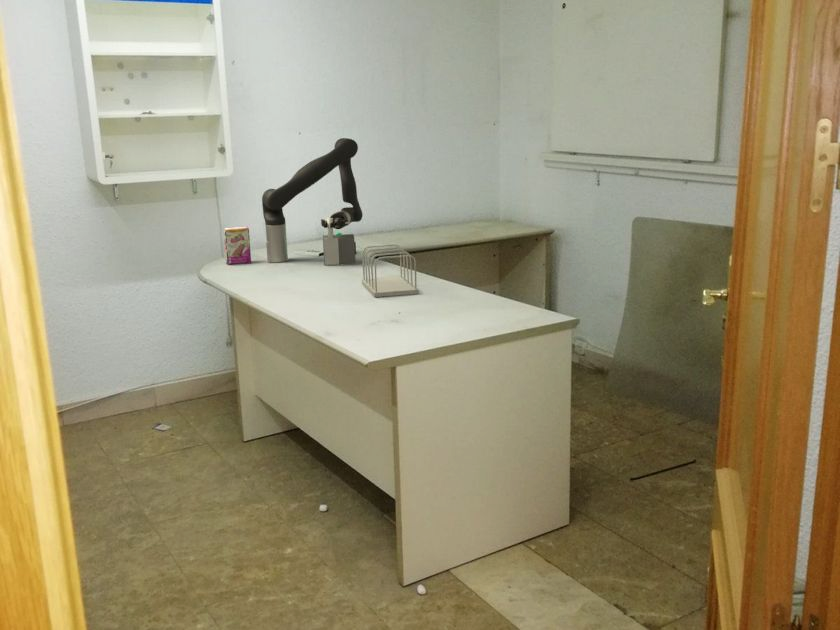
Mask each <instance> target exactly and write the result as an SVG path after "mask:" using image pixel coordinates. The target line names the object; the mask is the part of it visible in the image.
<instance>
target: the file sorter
mask: <svg viewBox="0 0 840 630" xmlns="http://www.w3.org/2000/svg"><path fill="white" fill-rule="evenodd" d="M369 248H371V249H369ZM373 248H374V249H373ZM366 249H368V250H367V251H365V250H366ZM368 253H369V254H368ZM373 254H374V255H373ZM371 255H373V256H372V257H371ZM370 257H371V258H370ZM376 257H378V258H376ZM374 258H376V259H375V261H374V269H373V260H374ZM394 258H395V259H397V258H399V263H400V264H399V265H400V267H399V268H400V272H399V273H400V277H384V278H383V277H382V278H377V262H378V261H379V260H381V259H394ZM405 258H406V259H405ZM402 259H403V260H402ZM412 259H413V261H414V283H413V266H412V264H413V263H412ZM402 261H403V263H402ZM405 261H406V263H405ZM402 264H403V265H402ZM409 266H410V267H409ZM402 268H403V269H402ZM409 268H410V273H409ZM370 270H371V271H370ZM362 275H363V279H361V284H362V286H364V288H365V289H366V290H367V291H368V292H369V293H370V294H371V295H372V296H373V297H374V298H380V297H383V296H384V297H391V296H406V295H407V296H408V295H409V294H410V295H418V294H420V291H419V289H418V286H417V261H416V258H415V257H414V255H411V254H410V253H409V252H408V251H406V250H405V249H403V248H402V247H400V245H398V244H383V245H382V244H381V245H380V244H379V245H367V246H365V247H364V248H363V250H362ZM409 275H410V277H409ZM406 277H407V278H406ZM384 297H383V298H384Z"/></svg>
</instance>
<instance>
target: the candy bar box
mask: <svg viewBox="0 0 840 630" xmlns="http://www.w3.org/2000/svg"><path fill="white" fill-rule="evenodd" d="M222 230H223V231H222V232H223V242H224V244H223V245H224V254H225V255H224V256H225V257H224V258H225V264H226V265H228V266H230V265H240V263H241V264H249V263H250V264H251V263H252V255H251V242H250V241H251V239H250V228H249V227H248V226H239V227H226V228H225V227H224V228H223V229H222Z"/></svg>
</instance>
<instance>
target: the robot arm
mask: <svg viewBox="0 0 840 630" xmlns="http://www.w3.org/2000/svg"><path fill="white" fill-rule="evenodd" d="M358 149H359V146H358V143H357V142H356V141H355V140H354V139H352V138H348V137H344V138H339V139H337V141H335V143H334V147H333V149H332V150H330V151H329V152H328V153H326V154H324V155H322V156H320V157H317V158H314V159H313V160H311V161H309V162H308V163H306V164H305V165H304V166H302V167H301V168H299V170H297V171H296V173H294V174H293V176H292V177H291V179H289V180H288V181H287V182H286V183H284V184H283V185H281V186H279V187H278V188H276V189H275V188H268V189H267V190H265V191H264V192H263V193H262V198H261V202H262V215H263V219H264V224H265V235H266V237H265V238H266V241H265V242H266V244H265V245H266V255H267V256H266V257H267V263H283V262H288V261H289V255H288V254H289V252H288V242H287V241H288V239H287V227H286V217H285V216H284V215H285V214H284V213H283V212H284V211H283V210H284V209H283V208H284V207H285V206H287V204H289V202H290V201H292V200H293V199H294V198H295V197H297V196H298V195H299V194H300V193H303V192H305V190H307V189H308V188H310V187H312V186H313V185H314V184H316V183H318V182H319V181H320V180H321V179H323V178H324V177H325V176H327V175H328V174H329V173H331V172H332V171H333V170H334V169H336V168H338V170H339V174H340V175H339V176H340V185H341V195H342V202H344V203H346V204H349V205H350V204H351V206H352V207H350V206H349V207H348V206H347V207H342V208H341V209H340V211H339V210H338V211H337V212H335V213H333V214H331V216H330V217H329V218H332V219H333V222H332V223H330V228H333V229H335V230H341V229H343V228H345V227H347V226H349V225H350V224H351V223H356V222H357V223H359V222H361V221H362V219H363V216H364V215H363V211H362V207H361V204H360V201H359V199H358V192H357V183H356V179H355V176H354V172H353V168H352V161H351V160H352V158H354V157H355V156H356V154H357V153H358ZM320 224H321V225H320V226H322V227H323V228H324V229H328V227H327V220H325V219H323V218H321V219H320Z"/></svg>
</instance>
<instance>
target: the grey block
mask: <svg viewBox="0 0 840 630" xmlns="http://www.w3.org/2000/svg"><path fill="white" fill-rule="evenodd" d="M325 238H328V234H327V235H322V242H323V243H322V246H323V249H324V239H325ZM333 238H338V248H339V264H338V265H339V266H340V265H341V264H343V265H356V255H357V246H356V245H357V244H356V241H355V235H354V233H349V234H346V233H345V234H342V235H335V234H333ZM323 261H324V266H326V265H325V255H324V254H323Z"/></svg>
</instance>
